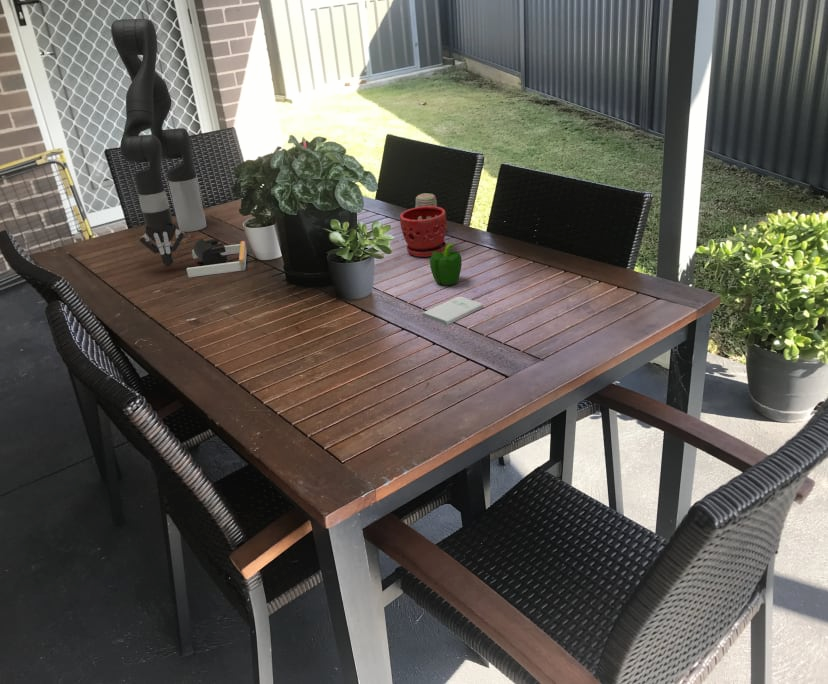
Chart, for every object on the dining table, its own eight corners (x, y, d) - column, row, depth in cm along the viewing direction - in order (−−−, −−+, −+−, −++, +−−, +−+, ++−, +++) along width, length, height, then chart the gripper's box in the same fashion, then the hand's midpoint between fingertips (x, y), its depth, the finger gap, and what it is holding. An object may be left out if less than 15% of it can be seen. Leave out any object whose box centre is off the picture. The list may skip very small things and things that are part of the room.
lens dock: (193, 257, 222) (191, 247, 220) (246, 251, 224) (244, 240, 222) (188, 277, 207) (186, 266, 205) (245, 270, 209) (243, 259, 207)
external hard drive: (422, 318, 172) (458, 301, 180) (447, 327, 167) (483, 309, 174) (422, 312, 172) (458, 295, 179) (446, 321, 166) (483, 303, 173)
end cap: (196, 262, 218) (191, 240, 215) (219, 257, 221) (215, 235, 218) (205, 271, 210) (200, 249, 207) (228, 266, 213) (224, 244, 210)
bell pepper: (440, 290, 185) (437, 253, 180) (426, 280, 192) (424, 244, 187) (469, 283, 188) (467, 247, 183) (454, 274, 194) (453, 238, 190)
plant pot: (420, 242, 220) (417, 203, 214) (456, 248, 213) (454, 208, 207) (394, 255, 211) (390, 215, 205) (431, 262, 203) (428, 221, 198)
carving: (432, 237, 223) (429, 199, 218) (411, 234, 227) (408, 196, 221) (442, 231, 228) (440, 193, 222) (422, 228, 231) (420, 191, 226)
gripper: (180, 201, 209) (193, 258, 217) (133, 207, 207) (147, 264, 215) (178, 208, 203) (191, 266, 210) (129, 214, 201) (144, 272, 209)
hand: (169, 265), depth 213 cm, fingers closed
